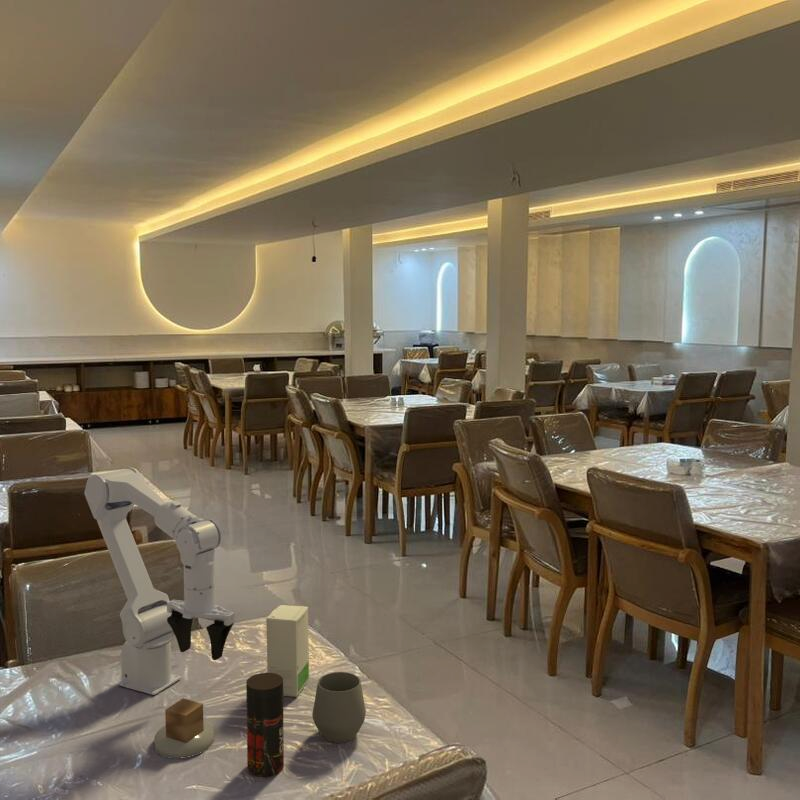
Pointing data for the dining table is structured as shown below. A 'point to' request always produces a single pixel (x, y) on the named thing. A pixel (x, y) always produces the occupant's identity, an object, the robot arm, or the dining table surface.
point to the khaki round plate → (182, 749)
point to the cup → (339, 706)
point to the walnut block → (184, 720)
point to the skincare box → (289, 647)
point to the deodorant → (265, 725)
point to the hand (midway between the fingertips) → (201, 654)
